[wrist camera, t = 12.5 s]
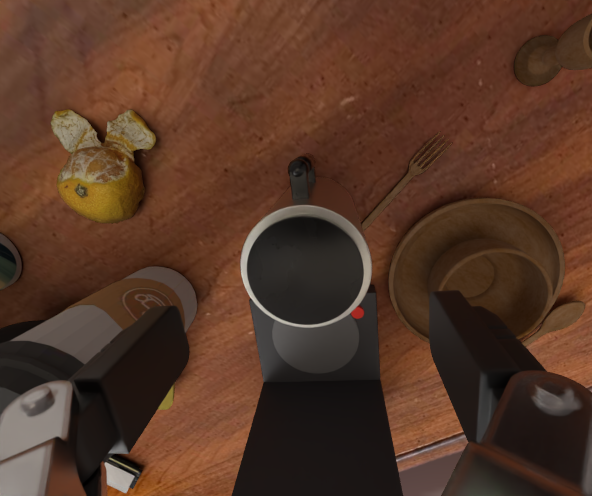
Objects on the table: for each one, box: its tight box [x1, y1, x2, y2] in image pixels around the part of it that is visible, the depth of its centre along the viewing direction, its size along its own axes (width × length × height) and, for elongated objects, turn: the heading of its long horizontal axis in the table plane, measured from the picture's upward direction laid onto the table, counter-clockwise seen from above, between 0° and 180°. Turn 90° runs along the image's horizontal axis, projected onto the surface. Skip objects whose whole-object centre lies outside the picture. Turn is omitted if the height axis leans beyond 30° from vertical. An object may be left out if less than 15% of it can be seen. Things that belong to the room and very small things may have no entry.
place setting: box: [361, 14, 592, 347], centre depth 21 cm, size 18×20×6 cm
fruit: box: [51, 109, 156, 224], centre depth 24 cm, size 8×8×4 cm
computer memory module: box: [105, 455, 143, 493], centre depth 36 cm, size 15×1×4 cm
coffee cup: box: [0, 266, 197, 464], centre depth 22 cm, size 8×8×15 cm
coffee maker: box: [232, 285, 403, 496], centre depth 18 cm, size 12×10×24 cm
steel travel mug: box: [240, 153, 372, 328], centre depth 20 cm, size 8×6×11 cm
